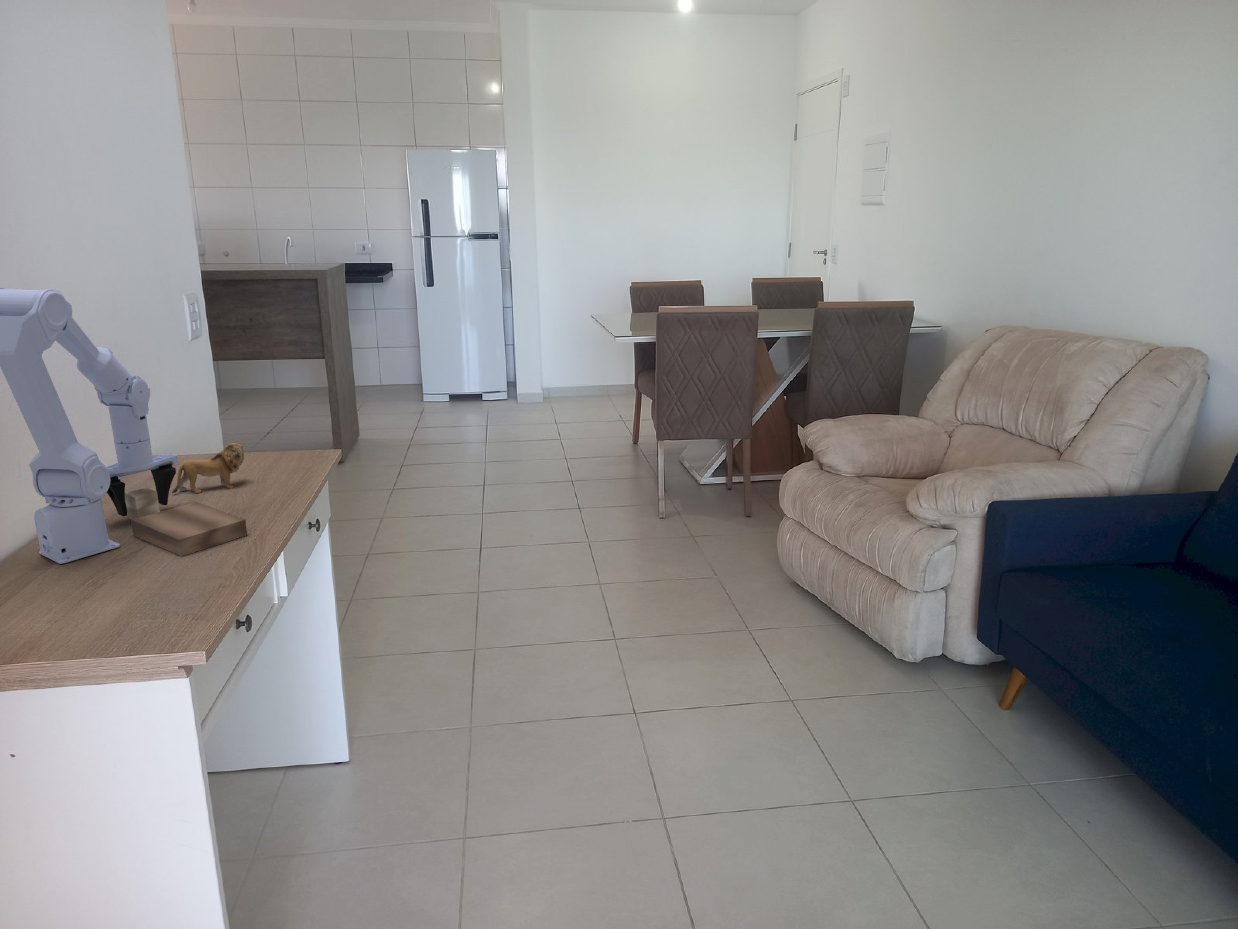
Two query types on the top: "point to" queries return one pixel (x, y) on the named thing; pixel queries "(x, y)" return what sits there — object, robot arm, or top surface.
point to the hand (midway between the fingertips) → (143, 509)
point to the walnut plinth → (189, 528)
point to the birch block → (141, 503)
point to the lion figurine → (212, 467)
